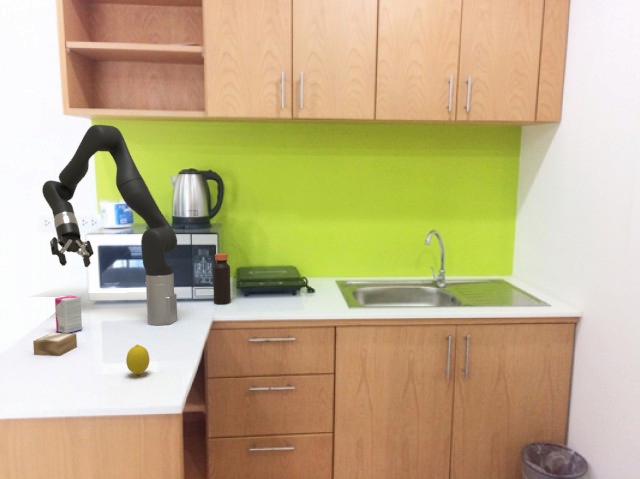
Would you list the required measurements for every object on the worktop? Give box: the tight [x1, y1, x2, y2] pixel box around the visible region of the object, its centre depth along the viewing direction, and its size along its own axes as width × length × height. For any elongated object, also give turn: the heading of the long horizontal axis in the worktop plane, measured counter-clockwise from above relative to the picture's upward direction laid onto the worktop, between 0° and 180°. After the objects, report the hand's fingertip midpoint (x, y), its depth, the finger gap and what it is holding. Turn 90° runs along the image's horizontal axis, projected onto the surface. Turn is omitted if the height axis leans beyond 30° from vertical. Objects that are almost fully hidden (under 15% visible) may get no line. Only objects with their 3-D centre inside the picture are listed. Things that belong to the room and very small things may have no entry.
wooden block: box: [32, 332, 78, 357], centre depth 148 cm, size 8×8×4 cm
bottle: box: [212, 252, 232, 305], centre depth 205 cm, size 7×7×20 cm
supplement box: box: [54, 295, 83, 334], centre depth 166 cm, size 6×6×12 cm
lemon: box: [125, 344, 150, 376], centre depth 129 cm, size 6×6×8 cm
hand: (76, 265), depth 180 cm, fingers open, 8 cm apart
